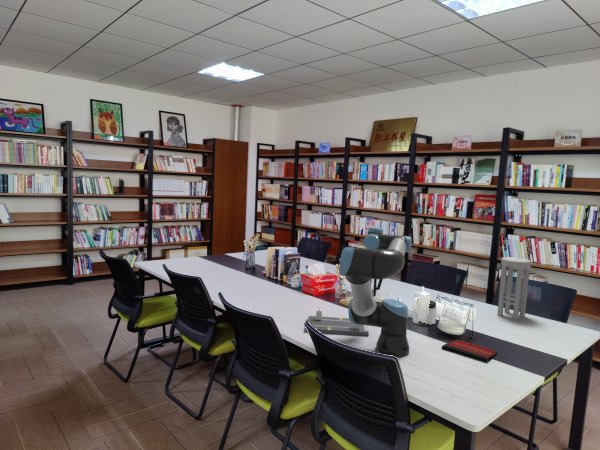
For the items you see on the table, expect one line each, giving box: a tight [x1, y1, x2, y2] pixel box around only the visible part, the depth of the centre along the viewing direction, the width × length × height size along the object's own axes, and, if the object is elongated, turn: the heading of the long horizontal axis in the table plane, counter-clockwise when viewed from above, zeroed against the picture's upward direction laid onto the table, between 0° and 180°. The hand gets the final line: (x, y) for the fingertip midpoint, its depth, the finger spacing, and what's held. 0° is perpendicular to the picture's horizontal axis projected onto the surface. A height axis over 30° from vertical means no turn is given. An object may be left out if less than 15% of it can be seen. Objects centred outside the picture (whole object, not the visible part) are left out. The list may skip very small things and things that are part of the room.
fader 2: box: [353, 324, 360, 329], centre depth 218 cm, size 4×3×5 cm
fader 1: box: [315, 308, 323, 320], centre depth 229 cm, size 4×3×5 cm
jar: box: [426, 299, 437, 326], centre depth 237 cm, size 9×8×12 cm
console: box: [305, 315, 370, 337], centre depth 224 cm, size 21×32×2 cm, turn 85°
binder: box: [441, 339, 498, 364], centre depth 199 cm, size 16×2×21 cm
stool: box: [497, 256, 532, 321], centre depth 254 cm, size 16×16×35 cm
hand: (371, 302), depth 216 cm, fingers closed
